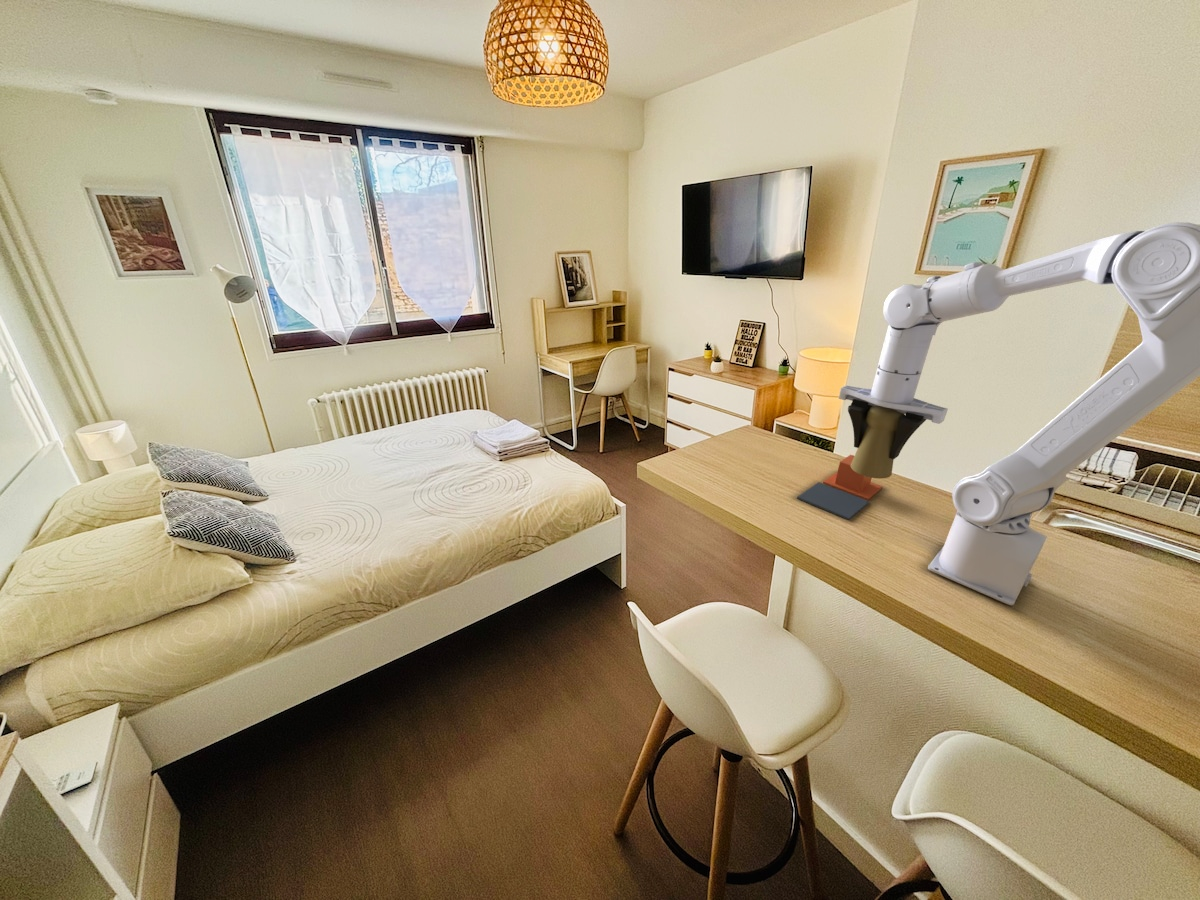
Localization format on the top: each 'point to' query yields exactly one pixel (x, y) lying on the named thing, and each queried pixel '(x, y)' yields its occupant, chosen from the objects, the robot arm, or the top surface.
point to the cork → (877, 443)
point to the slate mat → (833, 500)
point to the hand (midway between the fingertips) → (875, 451)
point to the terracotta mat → (864, 494)
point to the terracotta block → (851, 476)
